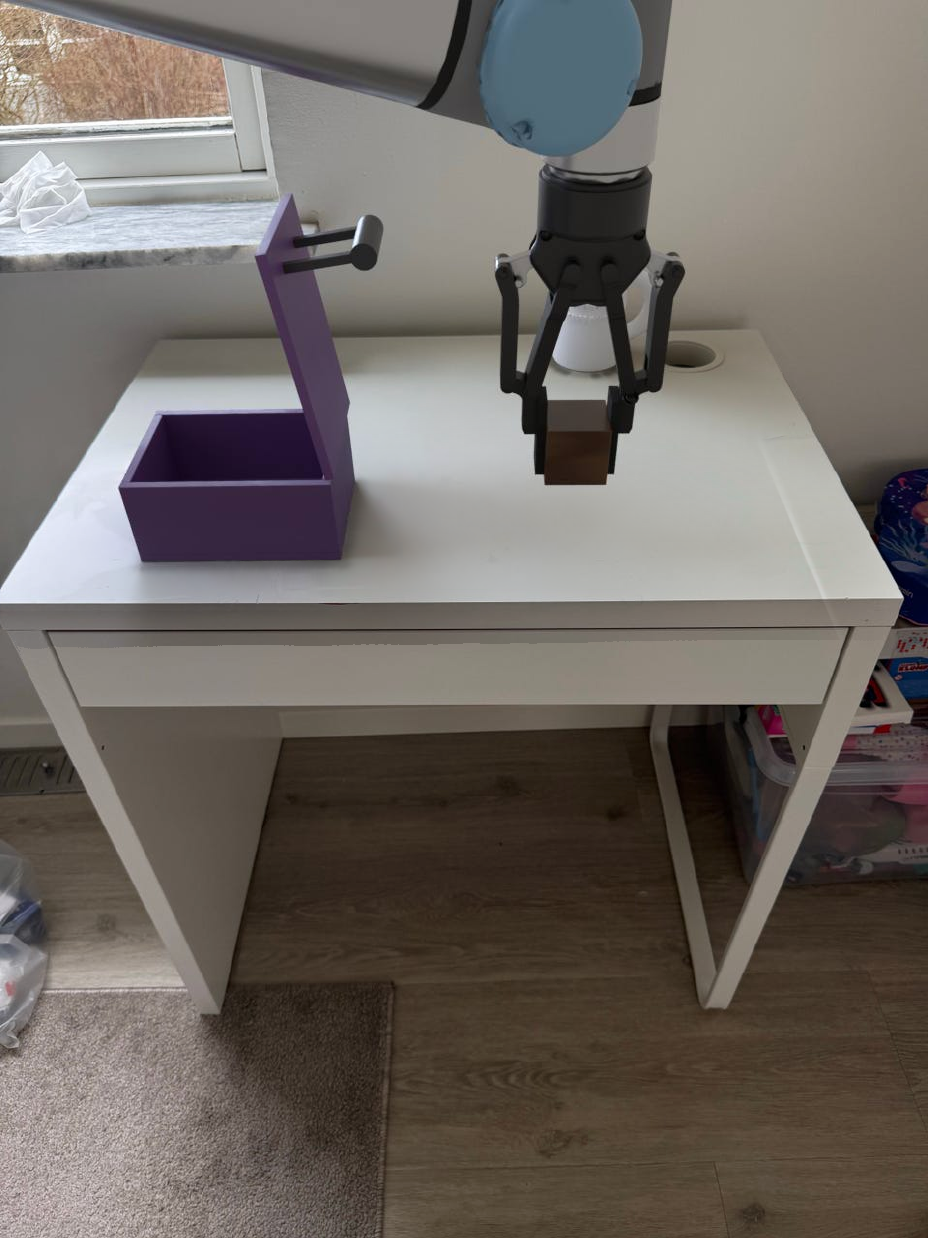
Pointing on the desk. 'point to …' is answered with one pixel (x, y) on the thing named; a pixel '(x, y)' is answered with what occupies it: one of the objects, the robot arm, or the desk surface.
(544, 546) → the desk surface
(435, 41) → the robot arm
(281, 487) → the purple box
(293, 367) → the purple hinged box lid
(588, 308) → the mug
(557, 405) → the block
